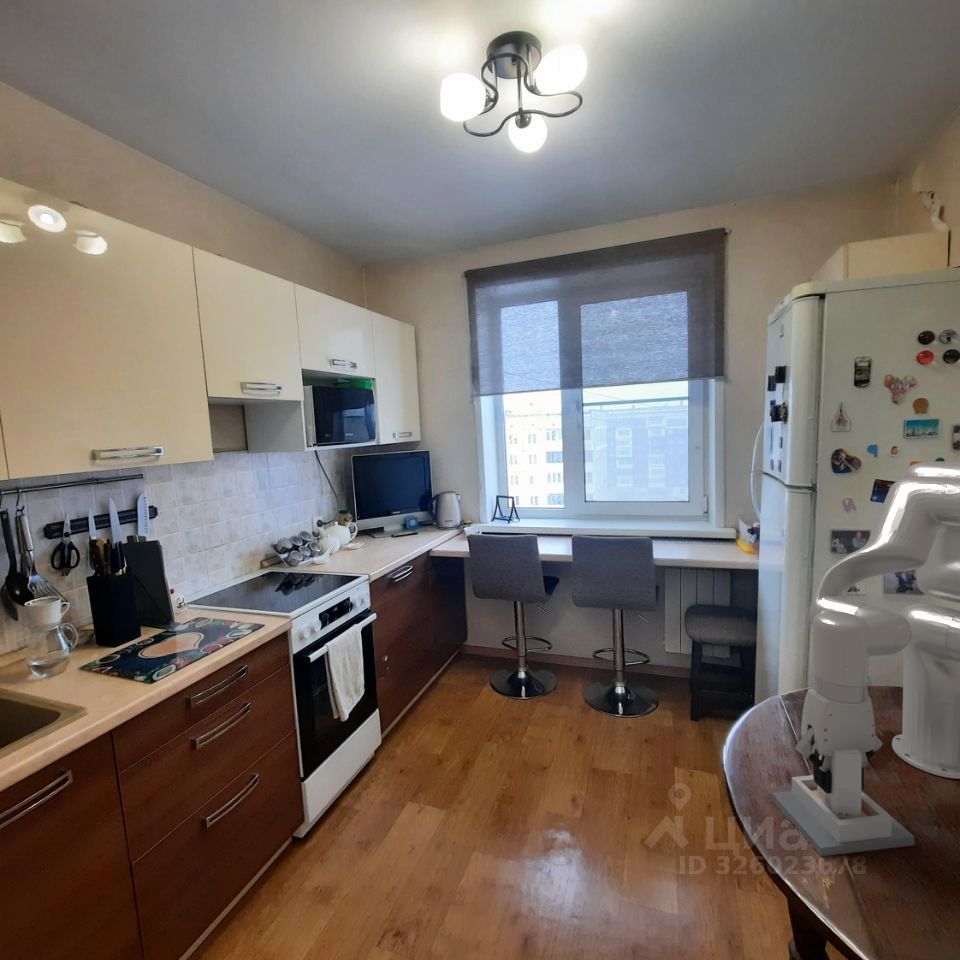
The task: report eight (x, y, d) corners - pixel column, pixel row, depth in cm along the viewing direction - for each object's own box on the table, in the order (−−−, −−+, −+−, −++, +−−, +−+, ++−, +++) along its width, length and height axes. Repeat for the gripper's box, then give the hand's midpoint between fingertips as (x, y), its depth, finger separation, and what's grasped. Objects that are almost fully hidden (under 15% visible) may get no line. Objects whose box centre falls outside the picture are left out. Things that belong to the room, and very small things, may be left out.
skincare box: (862, 821, 81) (863, 753, 80) (834, 818, 82) (834, 752, 81) (842, 794, 87) (842, 731, 86) (816, 792, 88) (815, 729, 87)
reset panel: (853, 791, 91) (853, 768, 91) (914, 845, 79) (915, 819, 79) (771, 800, 90) (771, 777, 90) (820, 856, 78) (820, 830, 78)
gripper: (868, 670, 87) (866, 766, 88) (776, 679, 86) (776, 775, 87) (907, 693, 79) (905, 797, 81) (807, 702, 78) (806, 807, 80)
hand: (838, 784), depth 84 cm, fingers closed on skincare box, 5 cm apart
